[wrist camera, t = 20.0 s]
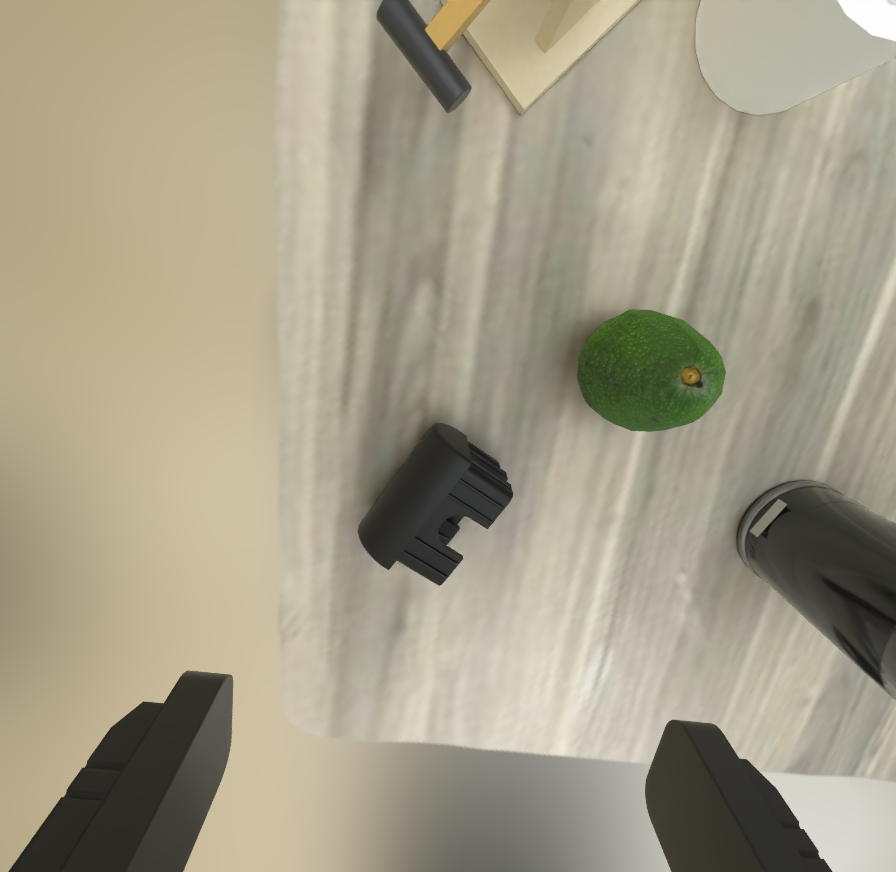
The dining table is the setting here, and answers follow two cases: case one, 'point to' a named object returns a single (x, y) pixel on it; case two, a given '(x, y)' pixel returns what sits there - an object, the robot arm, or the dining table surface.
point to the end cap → (434, 504)
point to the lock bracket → (539, 40)
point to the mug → (789, 48)
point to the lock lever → (432, 43)
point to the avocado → (649, 371)
